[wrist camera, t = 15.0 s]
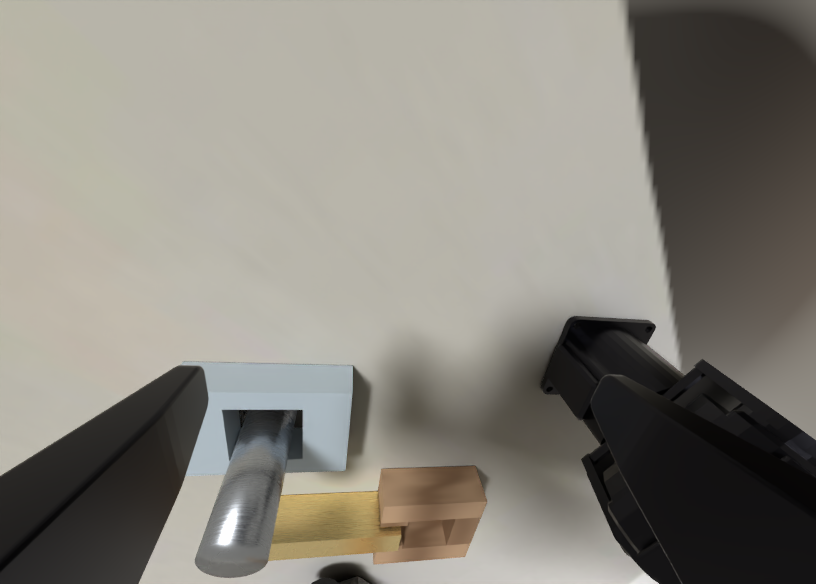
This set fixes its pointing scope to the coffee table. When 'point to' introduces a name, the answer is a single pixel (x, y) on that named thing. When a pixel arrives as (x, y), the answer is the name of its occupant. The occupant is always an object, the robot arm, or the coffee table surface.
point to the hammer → (351, 583)
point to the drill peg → (248, 497)
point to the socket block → (430, 511)
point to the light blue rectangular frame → (276, 390)
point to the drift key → (330, 526)
